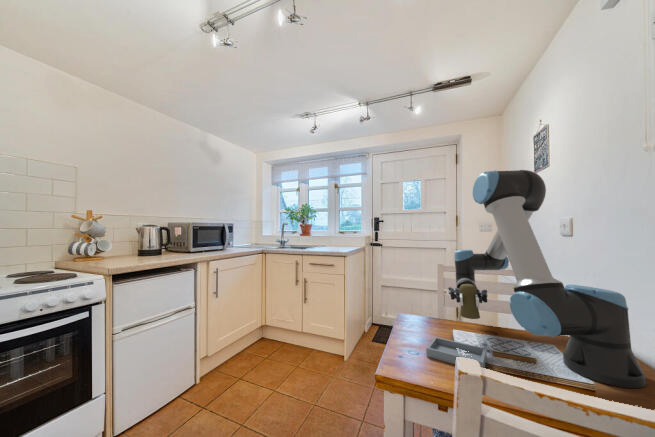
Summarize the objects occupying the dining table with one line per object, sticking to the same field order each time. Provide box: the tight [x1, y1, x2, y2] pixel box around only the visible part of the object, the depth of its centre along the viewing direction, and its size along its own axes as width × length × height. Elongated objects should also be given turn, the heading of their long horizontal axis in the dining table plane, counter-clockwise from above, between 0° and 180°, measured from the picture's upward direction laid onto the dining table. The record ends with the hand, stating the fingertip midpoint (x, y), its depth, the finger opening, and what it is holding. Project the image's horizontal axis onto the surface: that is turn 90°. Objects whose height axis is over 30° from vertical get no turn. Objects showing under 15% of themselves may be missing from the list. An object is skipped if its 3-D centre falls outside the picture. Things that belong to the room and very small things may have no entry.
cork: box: [459, 284, 481, 320], centre depth 85 cm, size 6×6×11 cm
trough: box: [425, 336, 488, 368], centre depth 78 cm, size 16×11×3 cm
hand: (469, 302), depth 81 cm, fingers closed on cork, 4 cm apart
